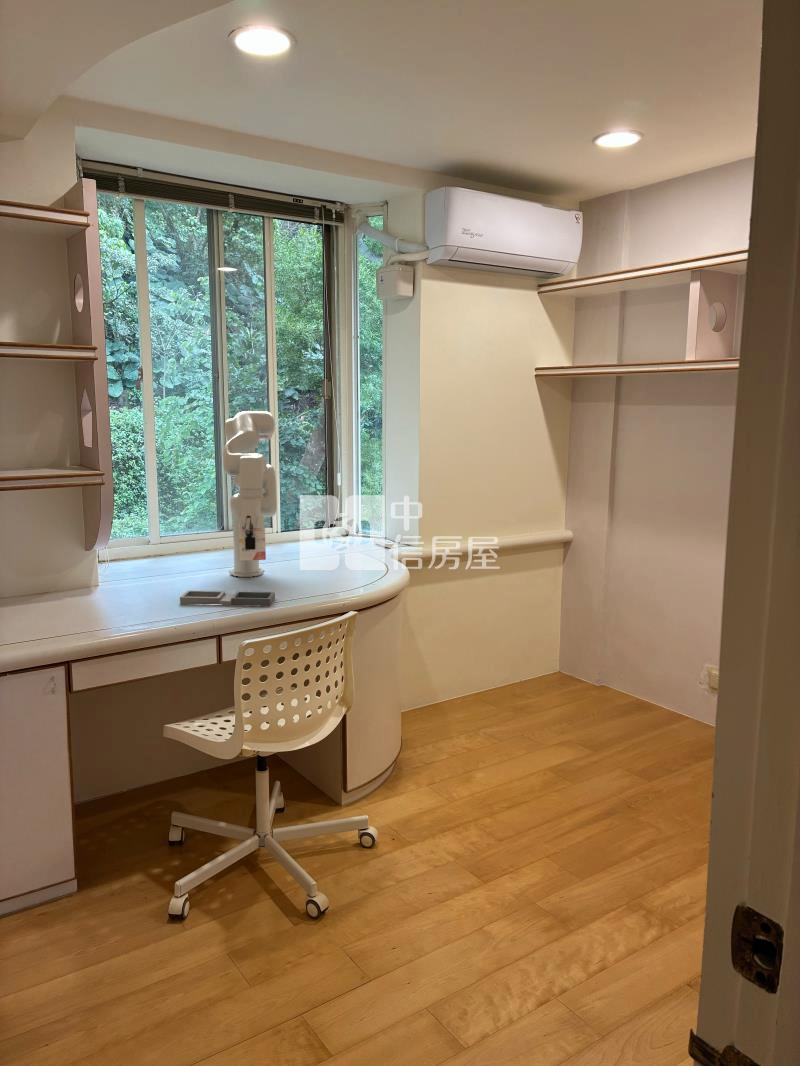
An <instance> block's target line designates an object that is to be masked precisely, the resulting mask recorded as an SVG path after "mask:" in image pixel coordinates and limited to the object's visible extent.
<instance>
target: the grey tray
mask: <svg viewBox="0 0 800 1066" xmlns="http://www.w3.org/2000/svg"><path fill="white" fill-rule="evenodd" d="M274 599H275V600H276V592H275V591H236V592H235V593H233V594H232V593H225V595H224V596H223V597H222V598H221V599H220V600H219V604H222V605H221V606H227V605H260V606H259V607H271V606H272V605H273V603H274V602H273V601H275V600H274ZM272 602H273V603H272ZM271 604H272V605H271ZM270 605H271V606H270Z"/></svg>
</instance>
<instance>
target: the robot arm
mask: <svg viewBox="0 0 800 1066" xmlns="http://www.w3.org/2000/svg"><path fill="white" fill-rule="evenodd" d="M275 425H276V424H275V419H274V416H273V415H272V413H270V412H269V411H261V410H259V411H258V410H257V411H255V410H253V411H251V410H247V411H246V410H244V411H241V412H238V413H236V414H235V416H234V417H233V418H229V419H227V420H225V423H224V431H225V436H226V440H227V442H226V444H225V445H224V447H223V451H222V464H223V467H222V468H223V470H224V472H225V474H227V475H228V476H230V477H231V476H232V478H233V485H234V487H235V488H237V489H239V492H237V493H235V494H233V495H232V496H231V498H230V499H229V505H230V507H229V508H230V512H231V517H232V520H231V521H232V529H233V531H232V536H233V540H232V542H233V569H230V571H229V575H231V576H232V575H233V576H232V577H236V576H238V578H252V577H253V576H254V577H259V576H261V575H263V574H264V569H262V568H260V560H240V549H239V517H241V528H242V529H244V528H243V527H245V524H246V527H245V549H248V550H254V549H255V537H254V530H255V528H256V527H257V523H258V516H263V517H264V518H271V517H274V516H275V515H276V514H277V510H278V507H277V506H278V503H277V477H276V476H277V475H276V470H275V467H274V466H273V465H272V464H269V463H268V462H267V458H266V456H264V455H263V454H262V453H259V452H256V450H255V449H256V448H258V446H259V444H260V441H269V440H271V439H272V437H273V435H274V432H275ZM250 526H253V528H250ZM250 530H252V531H250Z"/></svg>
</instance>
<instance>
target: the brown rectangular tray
mask: <svg viewBox="0 0 800 1066" xmlns="http://www.w3.org/2000/svg"><path fill="white" fill-rule="evenodd" d="M225 594H226V591H224V590H186V591H185V592H184V593H183V594H182V595H181V596H179V605H180V604H219V600H220V599H221V598H222V597H223V596H224V595H225Z"/></svg>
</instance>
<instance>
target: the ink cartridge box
mask: <svg viewBox="0 0 800 1066" xmlns="http://www.w3.org/2000/svg"><path fill="white" fill-rule="evenodd" d="M245 527H246V524H245ZM245 527H243V528H244V529H242V528H241V517H239V549H240V560H259V561H265V560H266V558H267V556H266V553H267V551H266V549H267V548H266V527H265V517H263V516H258V523H257V527H256V528H255V530H254V537H255V549H254V550H248V549H245ZM250 528H253V526H250ZM250 531H252V530H250Z"/></svg>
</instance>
